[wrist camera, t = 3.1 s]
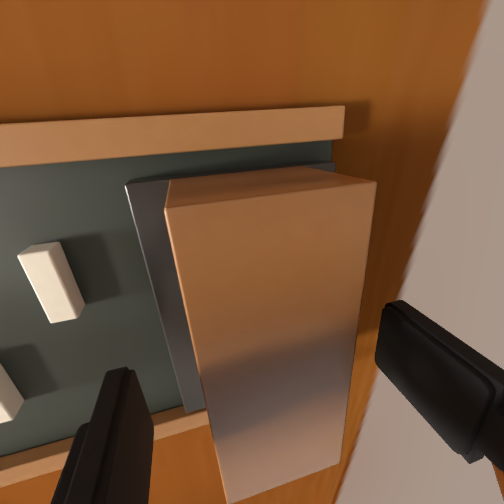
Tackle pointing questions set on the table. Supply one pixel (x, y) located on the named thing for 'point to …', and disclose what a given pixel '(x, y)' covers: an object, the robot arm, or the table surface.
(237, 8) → the table surface
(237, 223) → the eraser
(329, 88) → the table surface
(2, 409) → the chalk stub
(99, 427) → the robot arm
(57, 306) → the chalk stub
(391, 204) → the table surface
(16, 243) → the slate board
